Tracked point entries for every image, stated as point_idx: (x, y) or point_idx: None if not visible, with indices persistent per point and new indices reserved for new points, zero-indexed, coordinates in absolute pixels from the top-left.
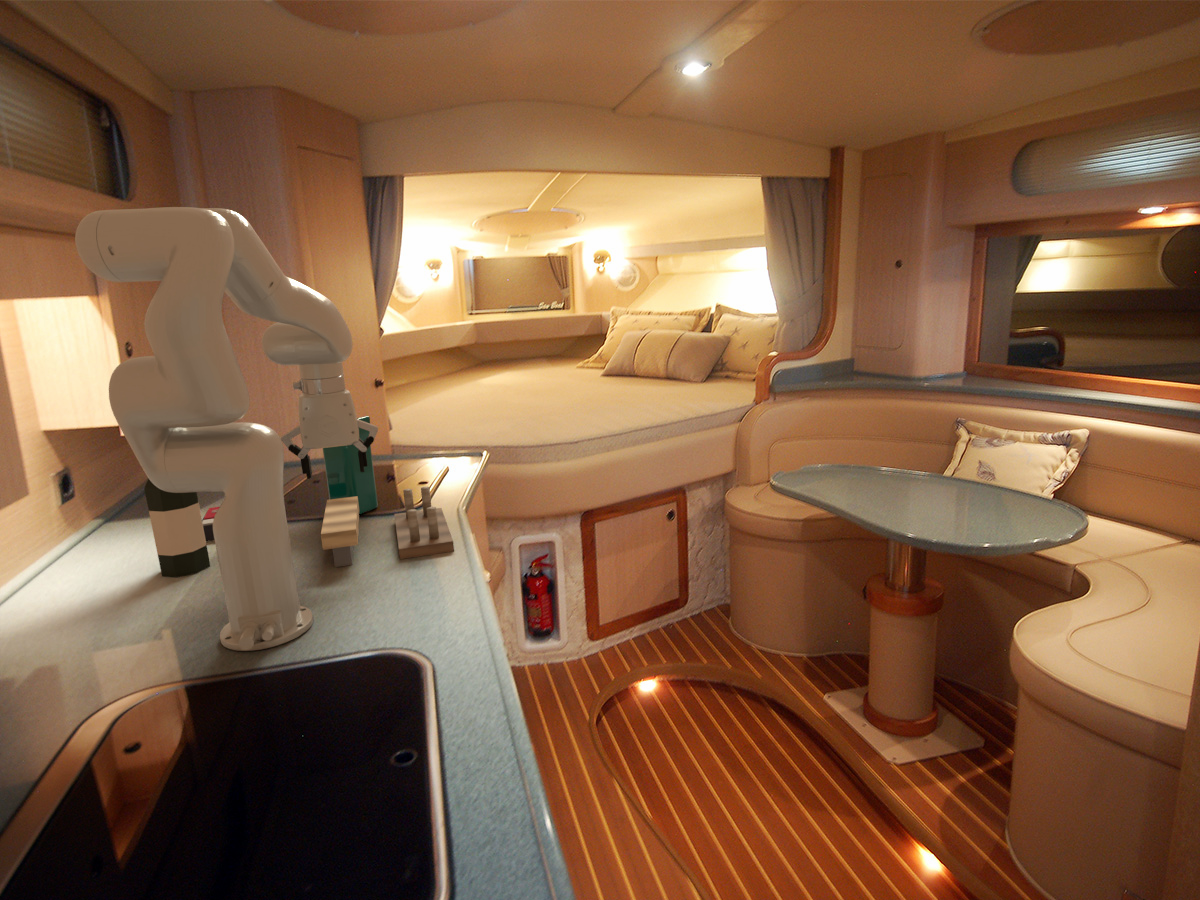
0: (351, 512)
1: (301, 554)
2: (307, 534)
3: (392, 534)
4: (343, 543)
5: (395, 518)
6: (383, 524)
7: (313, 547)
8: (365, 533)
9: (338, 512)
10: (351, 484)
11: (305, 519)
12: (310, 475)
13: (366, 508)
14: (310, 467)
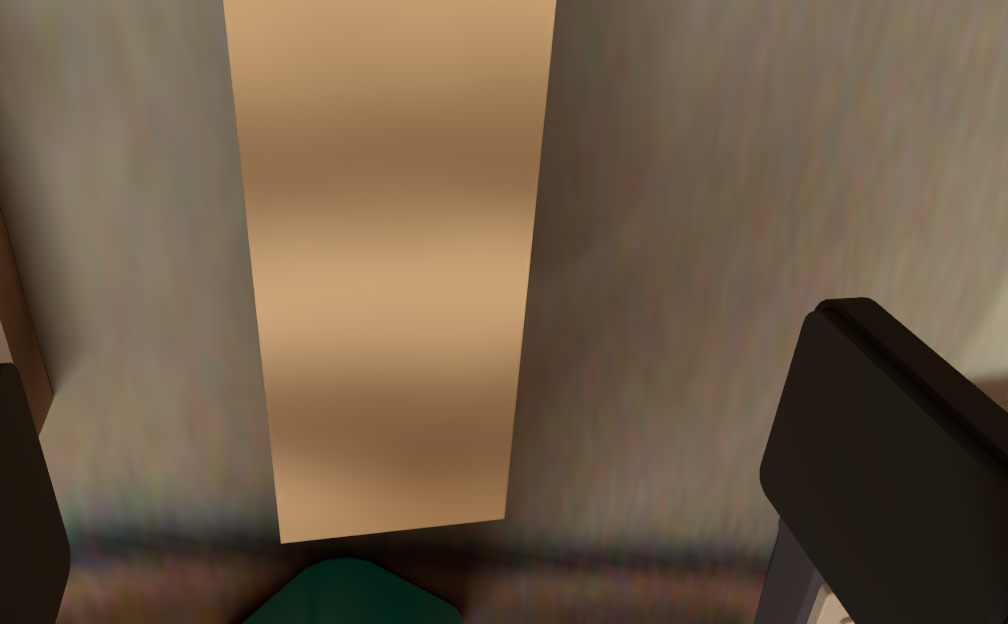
0: (291, 133)
1: (649, 36)
2: (590, 368)
3: (29, 183)
4: None
5: (5, 352)
6: (138, 394)
7: (571, 139)
8: (245, 272)
9: (416, 185)
10: None
11: (584, 567)
12: (836, 323)
13: (271, 609)
14: (846, 497)
